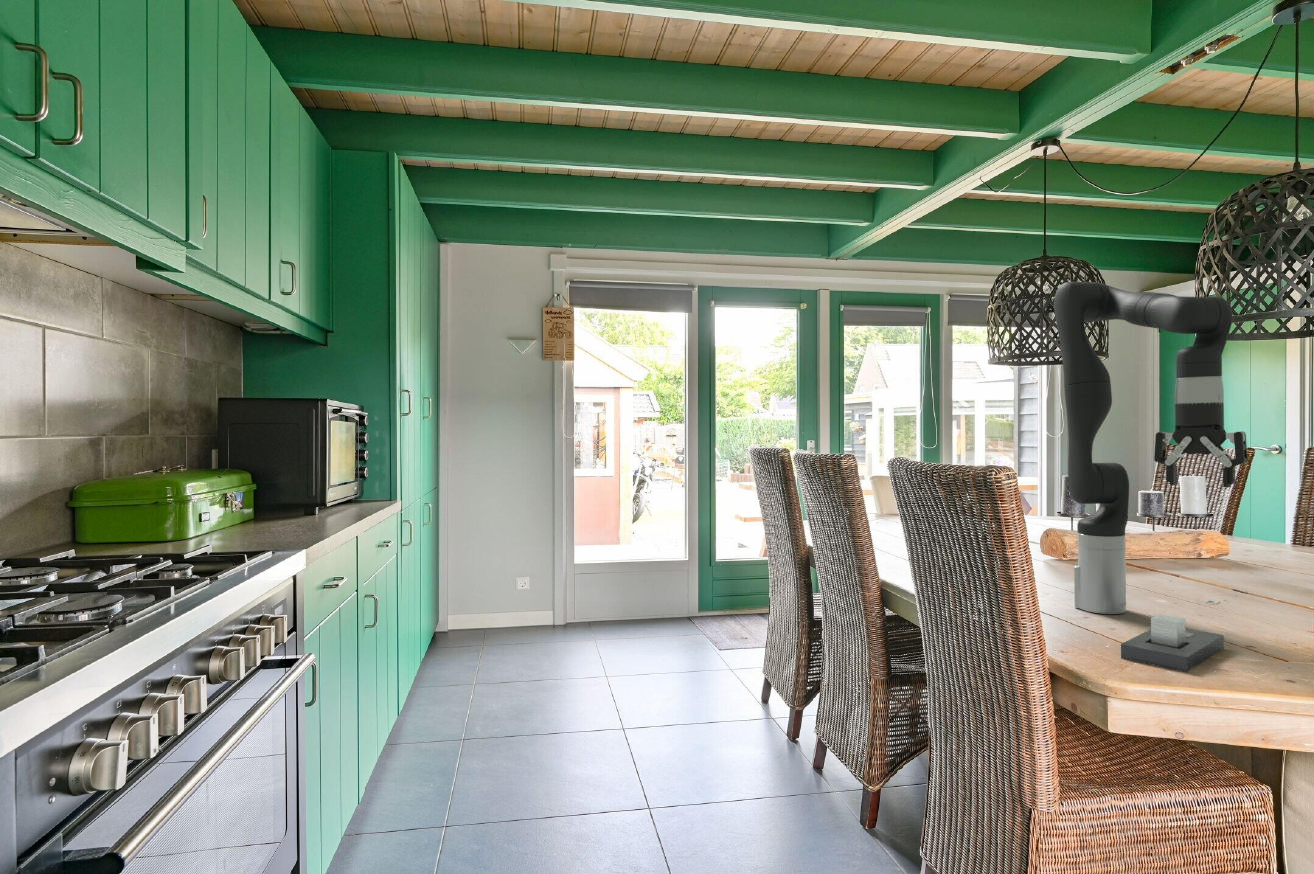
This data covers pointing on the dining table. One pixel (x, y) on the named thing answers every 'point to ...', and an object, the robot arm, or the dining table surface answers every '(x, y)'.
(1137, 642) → the dark grey flat board
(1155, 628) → the grey rectangular block
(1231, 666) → the dining table surface
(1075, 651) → the dining table surface
